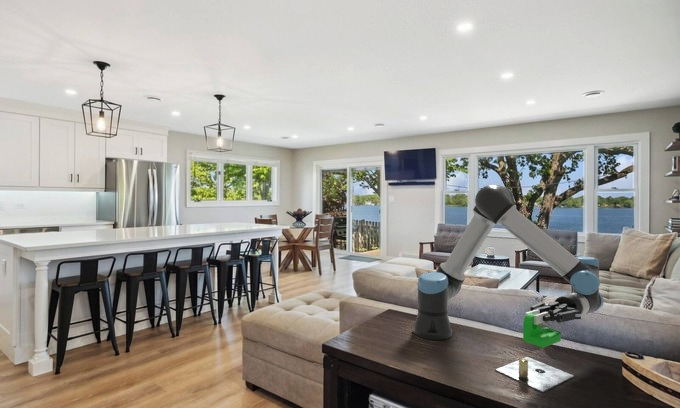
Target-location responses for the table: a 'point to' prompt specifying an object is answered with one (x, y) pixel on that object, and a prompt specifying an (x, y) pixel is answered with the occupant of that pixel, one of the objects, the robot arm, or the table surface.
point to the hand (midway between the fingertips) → (530, 318)
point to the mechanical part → (539, 333)
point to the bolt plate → (535, 374)
